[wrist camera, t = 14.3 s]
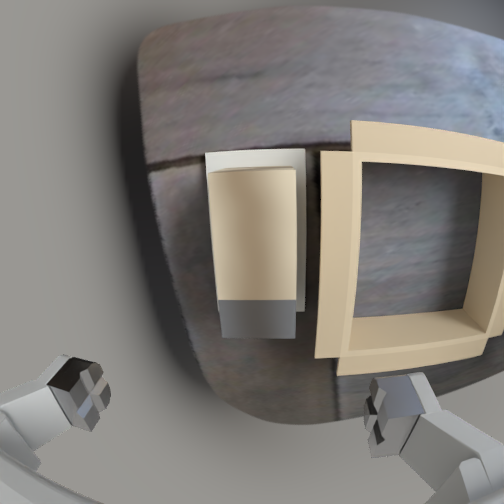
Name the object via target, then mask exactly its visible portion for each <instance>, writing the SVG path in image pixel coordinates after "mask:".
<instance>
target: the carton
mask: <svg viewBox="0 0 504 504" xmlns="http://www.w3.org/2000/svg"><path fill="white" fill-rule="evenodd" d="M350 132H351V152H347V151H320V162H321V240H320V273H319V295H318V313H317V328H316V341H315V354H314V356H315V358H335V357H339V358H338V365H337V371H336V374H337V376H340V375H354V374H366V373H376V372H385V371H394V370H401V369H409V368H416V367H422V366H429V365H435V364H440V363H446V362H451V361H456V360H461V359H466V358H471V357H475V356H479V355H482V353H483V351H484V348H485V345H486V343H487V340H488V338H490V337H495V336H499V335H502V333H503V330H504V143H503V142H499V141H495V140H491V139H486V138H482V137H477V136H472V135H467V134H462V133H457V132H451V131H445V130H439V129H432V128H425V127H418V126H410V125H401V124H392V123H381V122H369V121H353V120H351V121H350ZM362 162H383V163H399V164H412V165H424V166H434V167H444V168H452V169H461V170H468V171H476V172H482V192H481V205H480V216H479V225H478V233H477V240H476V246H475V253H474V258H473V264H472V269H471V274H470V279H469V284H468V288H467V292H466V297H465V301H464V305H463V308H462V309H454V310H446V311H436V312H426V313H415V314H403V315H390V316H376V317H359V318H353V311H354V303H355V293H356V283H357V272H358V260H359V245H360V227H361V200H362Z"/></svg>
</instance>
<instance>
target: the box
mask: <svg viewBox="0 0 504 504" xmlns="http://www.w3.org/2000/svg"><path fill="white" fill-rule="evenodd" d="M208 186H209V201H210V214H211V227H212V239H213V251H214V262H215V273H216V284H217V294H218V304H219V313H220V322H221V331H222V338H249V339H289V338H295V328H296V282H297V207H296V170H295V169H294V168H293V167H292V166H260V167H236V168H224V169H221V170H217V171H214V172H210V173H208Z"/></svg>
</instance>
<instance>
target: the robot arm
mask: <svg viewBox="0 0 504 504" xmlns="http://www.w3.org/2000/svg"><path fill="white" fill-rule="evenodd" d="M102 375H103V370H102V368H101V366H100V364H98V363H96V362H92V361H88V360H84V359H80V358H76V357H71V356H67V355H64V354H63V355H60V356H58V357H57V358H56V359H55V360H54V362H52V364H51V365H50V366H49V367H48V368H47V369H46V370H45V371H44V372H43V373H42V374H41V375H40V376H39V377H38V379H37V380H36V381H33V380H31V381H29V382H27V383H24V384H22V385H19V386H17V387H14V388H12V389H9V390H7V391H4V392H2V393H0V504H104V503H101V502H98V501H96V500H93V499H91V498H89V497H86V496H84V495H82V494H80V493H77V492H75V491H73V490H71V489H69V488H67V487H65V486H63V485H61V484H58V483H57V482H55V481H53V480H51V479H49V478H47V477H45V476H43V475H41V474H40V473H38V472H36V470H37V469H38V467H39V466H40V463H41V462H40V459H39V458H38V457H37V456H36V455H35V453H34V452H33V451H35V450H36V449H38V448H40V447H41V446H43V445H44V444H46V443H48V442H49V441H51V440H52V439H54V438H55V437H57V436H58V435H60V434H61V433H63V432H65V431H66V430H68V429H69V428H71V427H72V426H75V427H78V428H81V429H84V430H87V431H90V432H91V431H92V430H93V429H94V427H95V425H96V423H97V422H98V421H99V419H100V416H99V412H101V411H103V410H104V409H106V407H107V406H108V404H109V402H110V397H111V392H110V387H109V385H108V382H107V381H105V380H104V378H103V377H102ZM369 389H370V393H371V395H370V396H369V397H368V398H367V399H366V402H365V406H364V424H365V429H366V430H368V431H369V432H370V433H371V434H370V436H369V439H368V444H369V448H370V453H371V458H377V457H385V456H392V455H399V454H400V455H399V456H400V457H401V458H402V459H403V460H404V461H405V462H406V463H407V464H408V465H409V466H410V467H411V468H412V469H413V470H414V471H415V472H416V473H417V474H418V475H419V476H420V477H421V478H422V479H423V480H424V481H425V482H426V483H427V484H428V485H429V486H430V487H432V488H433V489H434V490H435V491H436V492H435V493H434V494H433V495H432V496H431V498H430V499H429V500H428V501H427V502H426V503H425V504H504V444H502V443H501V442H499V441H497V440H495V439H494V438H492V437H490V436H489V435H487V434H486V433H484V432H482V431H481V430H479V429H477V428H476V427H474V426H473V425H471V424H469V423H468V422H466V421H464V420H463V419H461V418H460V417H458V416H456V415H455V414H453V413H452V412H450V411H448V410H442V409H441V407H440V405H439V402H438V400H437V398H436V396H435V394H434V392H433V390H432V388H431V386H430V384H429V382H428V380H427V378H426V376H425V374H424V373H422V372H418V373H411V374H406V375H397V376H389V377H380V378H373V379H372V381H371V384H370V387H369ZM71 425H72V426H71Z"/></svg>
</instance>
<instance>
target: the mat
mask: <svg viewBox="0 0 504 504" xmlns="http://www.w3.org/2000/svg"><path fill="white" fill-rule="evenodd" d="M205 158H206V174H207V189H208V203H209V217H210V229H211V241H212V253H213V264H214V274H215V285H216V295H217V304H218V294H217V284H216V273H215V262H214V251H213V239H212V227H211V214H210V201H209V186H208V173H210V172H214V171H217V170H221V169H224V168H236V167H260V166H292V167H293V168H294V169H295V170H296V207H297V282H296V312H301V311H305V282H306V164H305V149H264V150H241V151H224V152H211V153H205ZM218 312H219V304H218Z"/></svg>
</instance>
